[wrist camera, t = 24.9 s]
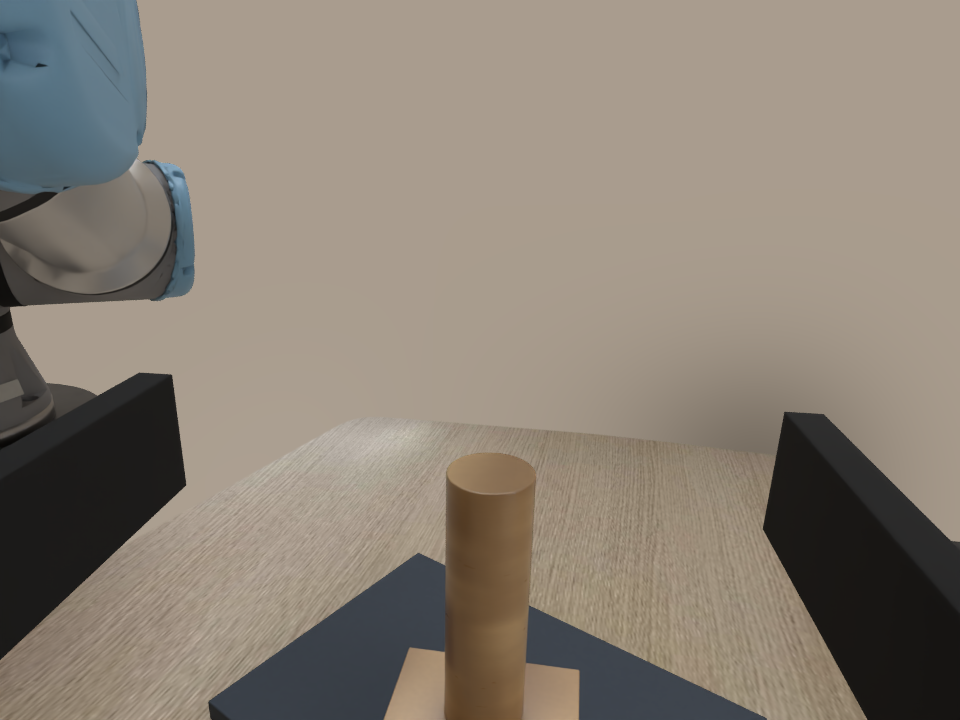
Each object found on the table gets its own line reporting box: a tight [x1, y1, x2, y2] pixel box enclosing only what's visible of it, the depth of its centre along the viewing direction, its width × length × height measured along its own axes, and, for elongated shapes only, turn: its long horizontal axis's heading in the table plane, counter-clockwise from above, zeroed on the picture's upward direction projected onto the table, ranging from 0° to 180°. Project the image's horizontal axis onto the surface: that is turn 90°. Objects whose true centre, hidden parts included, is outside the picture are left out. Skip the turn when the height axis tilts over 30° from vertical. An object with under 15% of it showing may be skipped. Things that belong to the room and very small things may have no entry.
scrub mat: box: [208, 553, 767, 720], centre depth 29 cm, size 20×14×1 cm
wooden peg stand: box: [384, 453, 580, 720], centre depth 24 cm, size 7×5×13 cm
